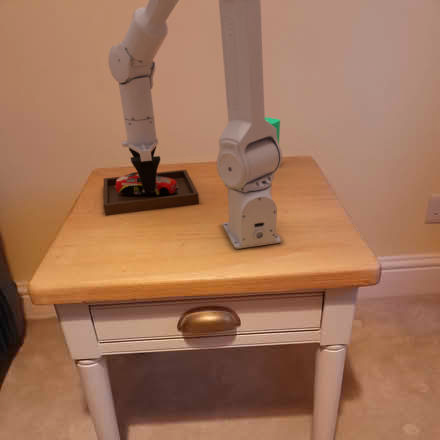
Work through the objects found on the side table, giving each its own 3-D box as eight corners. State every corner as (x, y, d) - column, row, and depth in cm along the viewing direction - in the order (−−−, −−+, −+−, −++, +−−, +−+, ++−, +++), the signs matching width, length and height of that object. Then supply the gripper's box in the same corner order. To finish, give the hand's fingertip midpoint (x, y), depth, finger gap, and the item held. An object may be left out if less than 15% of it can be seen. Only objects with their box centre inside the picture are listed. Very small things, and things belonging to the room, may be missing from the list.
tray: (199, 203, 85) (198, 193, 84) (105, 215, 82) (103, 205, 81) (186, 178, 98) (186, 169, 97) (105, 187, 95) (103, 178, 94)
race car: (181, 188, 91) (179, 170, 89) (175, 197, 87) (173, 178, 85) (122, 187, 93) (119, 169, 91) (113, 196, 88) (110, 177, 86)
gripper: (117, 111, 86) (127, 176, 94) (119, 127, 75) (131, 200, 82) (151, 108, 88) (159, 172, 95) (158, 124, 76) (166, 196, 84)
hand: (148, 185), depth 89 cm, fingers closed on race car, 6 cm apart
